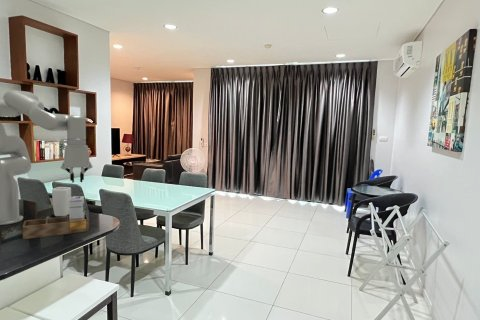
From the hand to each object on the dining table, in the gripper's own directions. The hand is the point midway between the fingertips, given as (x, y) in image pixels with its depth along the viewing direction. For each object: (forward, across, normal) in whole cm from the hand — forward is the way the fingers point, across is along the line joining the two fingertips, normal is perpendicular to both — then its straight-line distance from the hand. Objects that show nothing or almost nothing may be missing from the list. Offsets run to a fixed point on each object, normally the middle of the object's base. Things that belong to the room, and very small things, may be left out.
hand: (77, 181), depth 139 cm
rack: (+23, -8, 0) cm, 25 cm away
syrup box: (+22, 0, 0) cm, 22 cm away
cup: (+23, -6, +25) cm, 35 cm away
